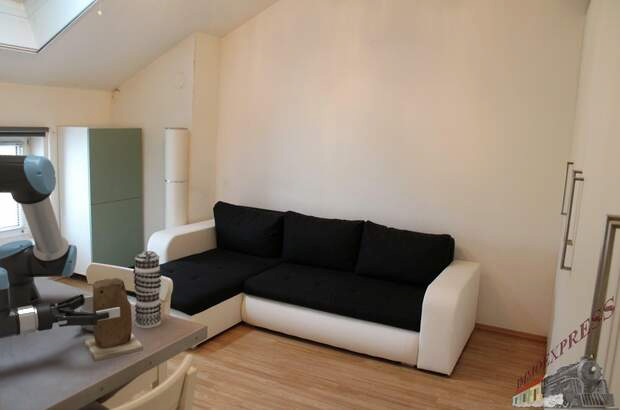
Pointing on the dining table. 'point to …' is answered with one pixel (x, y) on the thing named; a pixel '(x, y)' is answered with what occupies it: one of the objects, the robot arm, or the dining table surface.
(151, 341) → the dining table surface
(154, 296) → the decorative candle
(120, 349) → the beige packet
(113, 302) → the block
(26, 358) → the dining table surface
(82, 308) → the teacup
